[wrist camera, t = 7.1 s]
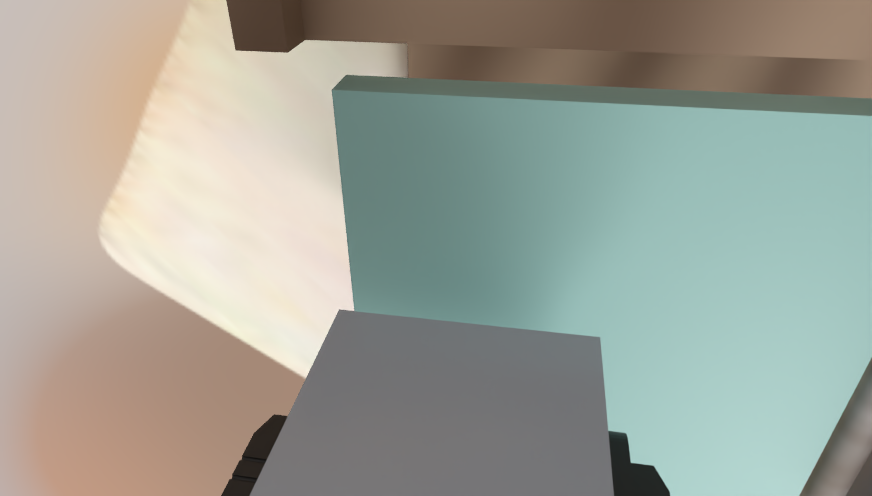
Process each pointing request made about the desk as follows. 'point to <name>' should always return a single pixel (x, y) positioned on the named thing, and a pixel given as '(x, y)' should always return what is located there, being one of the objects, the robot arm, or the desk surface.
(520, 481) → the grey rectangular block
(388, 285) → the trapdoor
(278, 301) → the desk surface
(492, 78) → the frame
